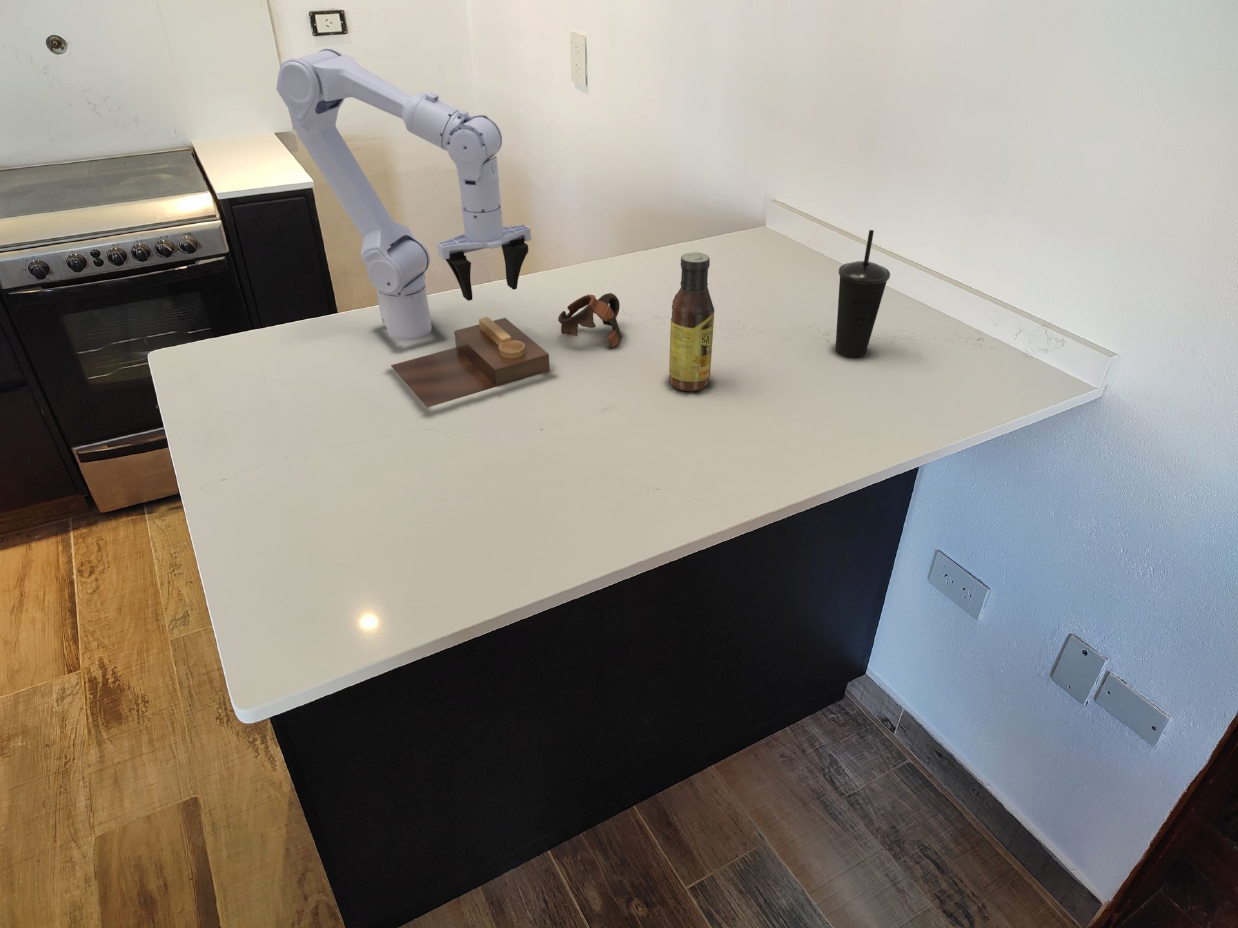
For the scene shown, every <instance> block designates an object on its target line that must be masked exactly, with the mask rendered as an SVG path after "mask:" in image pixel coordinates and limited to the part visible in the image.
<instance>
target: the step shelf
mask: <svg viewBox="0 0 1238 928" xmlns="http://www.w3.org/2000/svg"><path fill="white" fill-rule="evenodd" d="M492 321H493V322H494V323H496V324H497V325H498V326H499V327H500V328H501V329H503V330H504V331H505V332H506V333H507V334H508V335H510V336H511V340H516V341H521V342H523V343H524V344H525V351H526V352H525V354H524V355H523V356H522V357H519V358H515V359H507V358H503V357H501V356H500V354H499V346H498V345H497V344H496V343H495V342H494V341H493V340H492V339H491V338H489V337H488V336H487V335H486V334H485V333H484V332H483V331H482V330H481V329H480V326H479V324H475V325H472V326H468V327H464V328H460V329H456V330H454V331H453V334H454V340H455V341H454V342H455V347H453V348H448V349H445V350H441V351H438V352H437V351H436V352H434V353H431V354H426V355H423V356H419V357H415V358H412V359H408V360H404V361H400V362H398V363H393V364H391V365H390V367H391V368H392V369H393V370H394V371H395V373H396V374H397V375H398V376H399V377H400V378H401V380H402V381H403V382H404V383H405V384H406V385H407V386H408V387H409V388H410V390H411V391H412V392H413V394H414V395H415V396H416V397H417V398H418V399H419V400H420V401H421V403H422V404H423V406H425V407H426V408H427V409H428V408H432V407H434V406H438V405H441V404H444V403H447V402H452V401H455V400H457V399H458V400H459V399H461V398H464V397H467V396H470V395H474V394H478V393H481V392H484V391H488V390H491V389H494V388H498V387H501V386H504V385H507V384H511V383H514V382H517V381H521V380H524V379H527V378H531V377H534V376H537V375H540V374H544V373H547V372H551V370H550V369H551V368H550V354H549V352H547V351H546V350H545V349H543V348H542V347H541V346H540V345H539V344H537V343H536V342H535V341H534V340H533V339H531V338H530V337H529V336H528V335H527V334H526V333H524V332H523V331H522V330H521V329H519V328H518V327H517V326H516V325H515V324H513V322H511V321H510V320H509V319H507V318H506V317H502V318H498V319H495V320H492Z"/></svg>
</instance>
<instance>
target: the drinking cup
mask: <svg viewBox="0 0 1238 928" xmlns="http://www.w3.org/2000/svg"><path fill="white" fill-rule="evenodd" d="M874 232H875V231H874V230H873V229H869V230H868V235H867V241H866V245H865V246H866V247H865V254H864V259H863V260H856V261H852V262H848V263H844V264H842V265H840V267H839V268H838V275H839V285H838V300H837V301H838V302H837V316H836V317H837V318H836V330H835V331H836V332H835V333H836V334H835V349H834V350H835V352H836V354H837V355H838V356H840V357H843V358H848V359H860V358H862V357H864V356H865V355H866V353H867V351H868V347H869V344H870V340H871V337H872V335H873V334H872V333H873V329H874V327H875V323H876V320H877V317H878V312H879V309H880V306H881V302H882V300H883V296H884V292H885V289H886V286H887V282H888V281H889V279H890V278H891V272H890V270H888V268H886V267H885V266H882V265H880V264H878V263H876V262H873V261H869V260H870V255H871V249H872V244H873V239H874Z"/></svg>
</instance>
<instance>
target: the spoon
mask: <svg viewBox="0 0 1238 928" xmlns="http://www.w3.org/2000/svg"><path fill="white" fill-rule="evenodd" d="M493 321H494V320H492V319H491V318H490V317H488V316H484V317H481V318H478V325H479V326H480V329H481V330H482V331H483V332H484V333H485V334H486V335H487V336H488V337H489V338H491V339H492V340H493V341H494V342H495V343H496V344H497V345H498V346H499V354H500V356H501V357H503V358H507V359H515V358H519V357H522V356H523V355H524V354H525V352H526V351H525V344H524V343H523V342H521V341H516V340H511V336H510V335H508V334H507V333H506V332H505V331H504V330H503V329H501V328H500V327H499V326H498V325H497V324H496V323H494V322H493Z"/></svg>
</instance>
